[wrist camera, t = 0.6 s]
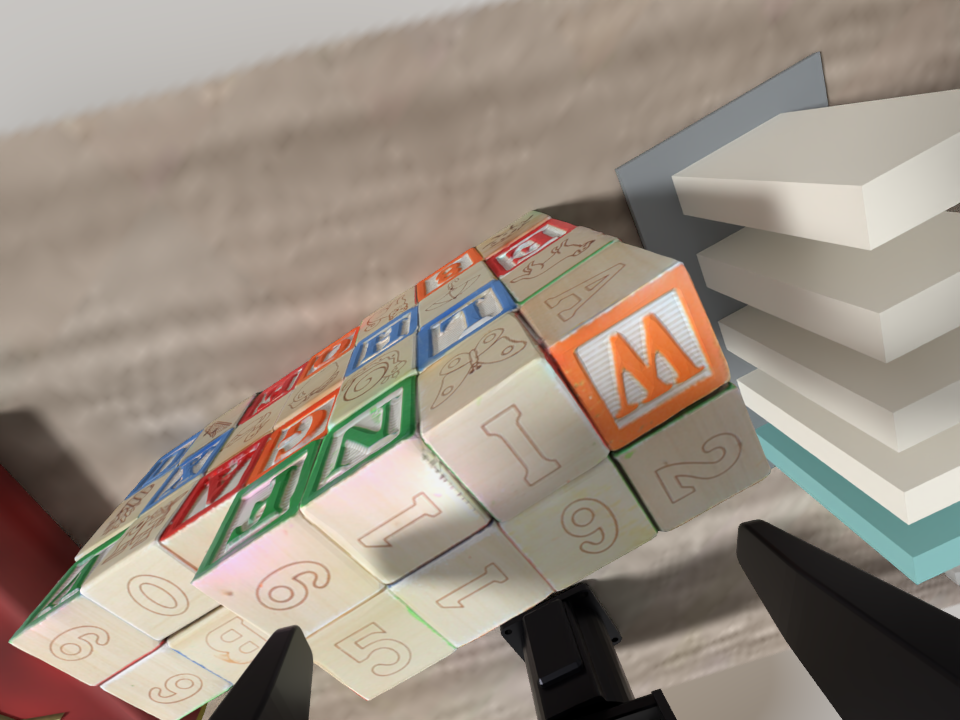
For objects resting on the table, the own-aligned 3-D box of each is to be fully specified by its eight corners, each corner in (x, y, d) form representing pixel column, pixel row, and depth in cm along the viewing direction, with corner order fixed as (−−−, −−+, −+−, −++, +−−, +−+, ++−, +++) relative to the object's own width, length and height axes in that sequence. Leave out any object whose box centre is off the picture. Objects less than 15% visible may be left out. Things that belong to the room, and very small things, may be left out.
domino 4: (830, 360, 24) (1043, 461, 16) (744, 404, 25) (908, 525, 16) (824, 333, 23) (1045, 424, 15) (736, 379, 24) (904, 492, 16)
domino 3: (818, 301, 23) (1047, 379, 14) (727, 349, 23) (898, 452, 15) (812, 270, 22) (1049, 334, 14) (717, 321, 22) (892, 412, 14)
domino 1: (788, 155, 19) (1059, 148, 11) (683, 214, 20) (870, 250, 12) (780, 113, 19) (1063, 74, 11) (671, 176, 19) (861, 185, 11)
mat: (872, 413, 26) (877, 415, 26) (731, 483, 27) (735, 486, 27) (813, 53, 18) (819, 51, 18) (614, 169, 19) (617, 169, 19)
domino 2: (804, 233, 21) (1053, 278, 13) (706, 287, 21) (886, 363, 13) (797, 197, 20) (1055, 221, 12) (696, 254, 21) (879, 313, 13)
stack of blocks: (252, 532, 24) (113, 848, 13) (158, 456, 22) (-115, 766, 11) (596, 317, 22) (785, 480, 11) (534, 203, 19) (697, 258, 8)
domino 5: (841, 411, 26) (1040, 528, 17) (759, 452, 26) (916, 585, 18) (836, 388, 25) (1041, 497, 17) (752, 430, 25) (913, 557, 17)
